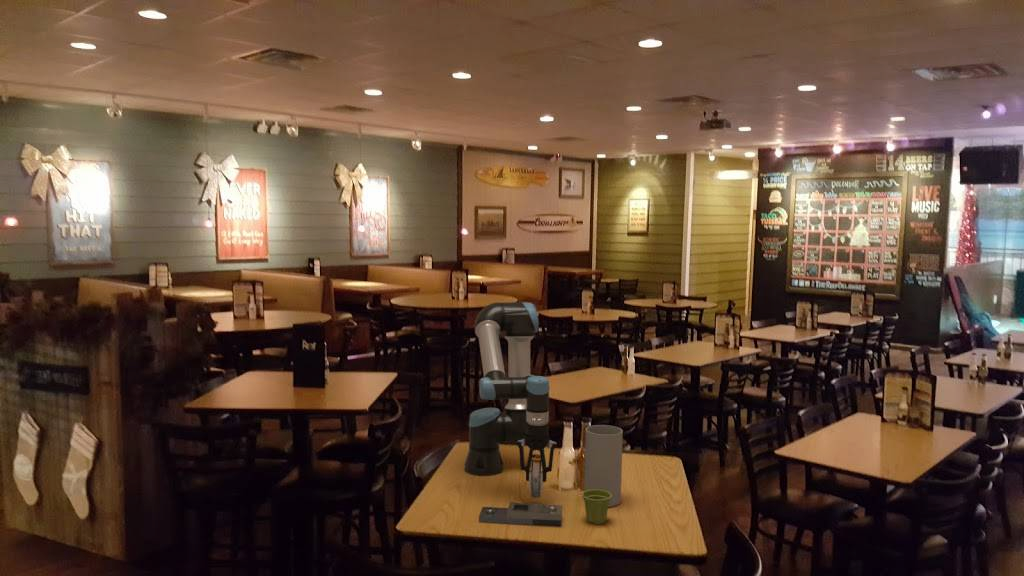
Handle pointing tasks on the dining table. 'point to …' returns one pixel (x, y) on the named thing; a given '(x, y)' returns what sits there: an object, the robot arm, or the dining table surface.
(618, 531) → the dining table surface
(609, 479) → the cylinder vase
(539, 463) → the pin
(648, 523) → the dining table surface
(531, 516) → the stand base plate
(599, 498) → the plant pot
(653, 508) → the dining table surface
